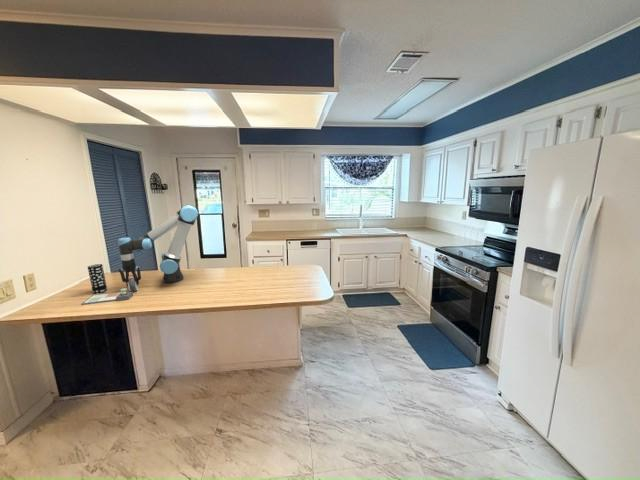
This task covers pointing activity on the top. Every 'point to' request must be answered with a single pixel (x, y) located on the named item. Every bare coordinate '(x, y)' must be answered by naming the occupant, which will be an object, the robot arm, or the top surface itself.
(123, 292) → the button
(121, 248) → the robot arm
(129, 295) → the button housing
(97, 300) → the picture board
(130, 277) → the grey upright cylinder
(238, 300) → the top surface
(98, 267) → the spotted tube
